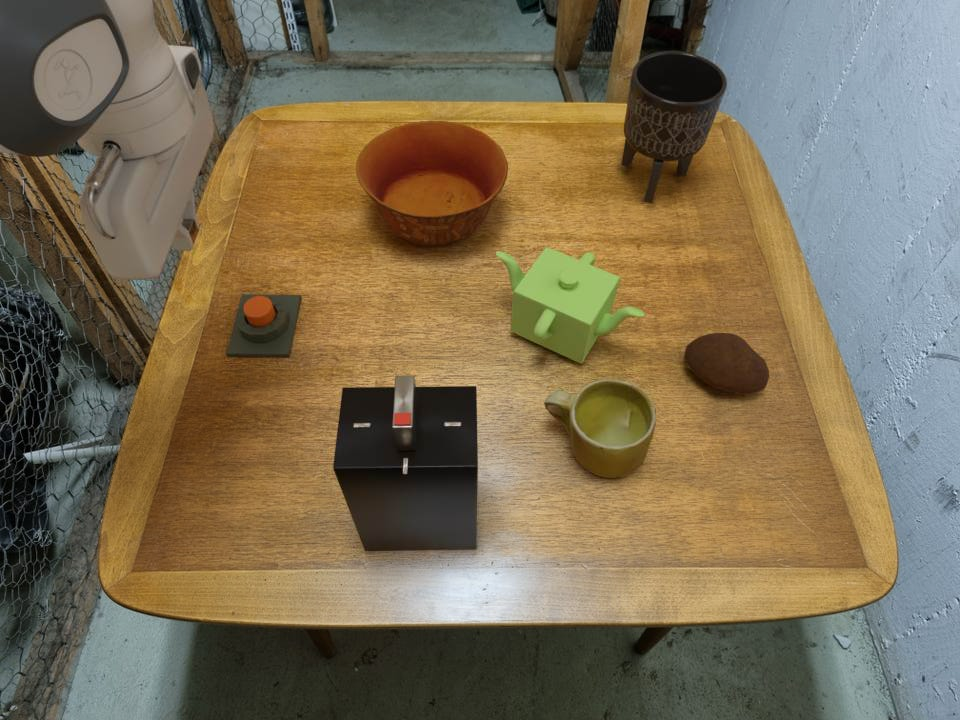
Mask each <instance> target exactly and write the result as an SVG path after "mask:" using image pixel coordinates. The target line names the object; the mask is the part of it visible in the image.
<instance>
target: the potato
mask: <svg viewBox="0 0 960 720" xmlns="http://www.w3.org/2000/svg"><path fill="white" fill-rule="evenodd" d="M684 359H685V362H686V364H687V366H688V368H689V369H690V371H692V372H693V374H694V375H696V377H698V378H699V379H700V380H701V381H703V382H704V383H705V384H706V385H708V386H709V387H712V388H714V389H718V390H721V391H724V392H727V393H729V394H730V393H732V394H735V395H736V394H737V395H750V394H751V395H752V394H755V393H758V392H760V391H761V390H764V389H765V388H766V387H767V385H768V383H769V379H770V369H769V367H768V364H767V362H766V360H765V358H763V357H762V355H760V354H759V353H758V352H756V351H755V349H754V348H752V347H751V345H750V344H749V343H748V342H747V341H746V340H745V339H743V338H742V337H741V336H740V335H738V334H734V333H729V332H713V333H707V334H704V335H700V336H698V337H697V338H695V339H693V340H691V342H689V343H688V344H687V345H686V346H685V349H684Z"/></svg>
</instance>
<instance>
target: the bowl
mask: <svg viewBox="0 0 960 720" xmlns="http://www.w3.org/2000/svg"><path fill="white" fill-rule="evenodd" d="M508 172H509V162H508V159H507V157H506V155H505V152H504V150H503V149H502V147H501V146H500V145H499V144H498V143H497V142H496V141H495V140H494V139H493V138H491V137H490V136H489V135H488V134H486V132H485V133H484V132H483V131H482V130H479V129H476V128H474V127H472V126H469V125H466V124H462V123H458V122H453V121H446V120H422V121H421V120H420V121H414V122H410V123H406V124H401V125H399V126H394V127H392V128H390V129H388V130H386V131H384V132H382V133H380V134H379V135H377V136H374V138H372V139H371V140H370V141H369V142H368V143H366V145H365V146H364V147H363V148H362V149H361V152H360V153H359V155H358V156H357V159H356V163H355V174H356V177H357V180H358V182H359V185H360V186H361V188H362V189H363V190H364V193H366V195H367V196H368V197H369V198H370V199H371V200H372V201H373V202H374V203H375V206H376V208H377V210H378V213H379V216H380V217H381V219H382V221H383V223H384V224H385V225H386V226H387V228H388V229H389V230H390V231H391V232H392V233H394V234H395V235H396V236H398V237H399V238H401V239H404V240H405V241H408V242H411V243H414V244H419V245H425V246H440V245H448V244H454V243H457V242H459V241H461V240H463V239H465V238H467V237H469V236H470V235H472V234H474V233H475V232H476V231H478V229H479V228H480V227H482V225H483V224H484V222H485V220H486V218H487V217H488V214H489V211H490V208H491V204H492V202H493V200H494V199H495V198H496V197H497V196H498V195H499V194H500V193H501V191H502V190H503V188H504V186H505V184H506V181H507V178H508Z"/></svg>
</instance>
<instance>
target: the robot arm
mask: <svg viewBox="0 0 960 720" xmlns="http://www.w3.org/2000/svg"><path fill="white" fill-rule="evenodd" d="M197 51H198V50H197V49H196V48H195V47H194V46H188V45H176V44H175V45H174V44H168V43H167V42H166V40H165V39H164V38H163V37H162V35H161V33H160V31H159V30H158V26H157V24H156V19H155V11H154V1H153V0H0V153H3V154H10V155H16V156H23V157H24V156H26V157H33V158H43V157H49V156H54V155H57V154H59V153H62V152H63V151H66V150H68V149H69V148H70V147H71V146H73V145H74V144H75V143H77V144H78V146H80V148H81V149H82V150H83V151H85V152H86V153H88V154H90V155H92V156H95V157H96V159H95V163H94V165H93V167H92V170H90V171H89V172H88V174H87V175H86V177H85V179H84V189H83V191H82V193H81V197H80V202H79V203H80V204H79V206H80V214H81V218H82V222H83V225H84V226H85V230H86V232H87V234H88V236H89V239H90V241H91V243H92V245H93V248H94V249H95V252H96V254H97V256H98V258H99V260H100V262H101V264H102V266H103V268H104V269H105V271H106V272H107V273H108V275H110V276H111V277H113V278H115V279H120V280H128V281H130V280H131V281H143V280H144V281H145V280H146V281H147V280H156V279H158V278H159V277H160V276H161V273H162V271H163V269H164V265H165V264H166V261H167V258H168V256H169V253H170V250H171V248H173V250H175V251H178V252H179V251H180V252H190V251H192V250H193V249H194V246H195V242H196V239H197V236H198V234H199V232H200V229H201V225H200V222H199V220H198V218H197V215H196V213H197V212H196V200H195V198H196V197H195V191H194V188H195V185H196V183H197V180H198V178H199V175H200V172H201V169H202V167H203V164H204V162H205V159H206V157H207V154H208V151H209V149H210V146H211V144H212V141H213V139H214V133H215V125H214V123H215V122H214V116H213V111H212V108H211V105H210V101H209V97H208V94H207V91H206V88H205V85H204V82H203V79H202V77H201V72H202V63H201V60H200V56H199V54H198V52H197Z"/></svg>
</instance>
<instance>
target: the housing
mask: <svg viewBox="0 0 960 720" xmlns="http://www.w3.org/2000/svg"><path fill="white" fill-rule="evenodd" d="M256 296H264V297H267V298H269V299H270V300H271V302H272V305H273V307H274V310H275V313H276V316H275V319H274V320H273V322H272V323H270V324H269V325H267V326H264V327H254V326H252V325H251V324H250V323H249V322H248V320H247V318H246V315H245V313H244V310H243V308H244V304H245V303H246V302H247V301H248V300H249V299H251V298H253V297H256ZM302 299H303V298H302V295H301V294H259V293H257V294H253V293H251V294H248V293H247V294H246V293H243V294H241V296H240V301H239V304H238V308H237V309H236V310H237V311H236V313H235V317H234V323H233V327H232V329H231V333H230V337H229V340H228V344H227V348H226V351H225V355H226V357H228V358H290V357H291V353H292V347H293V343H294V337H295V334H296V333H295V332H296V328H297V322H298V317H299V313H300V310H301V309H300V308H301V303H302Z"/></svg>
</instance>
